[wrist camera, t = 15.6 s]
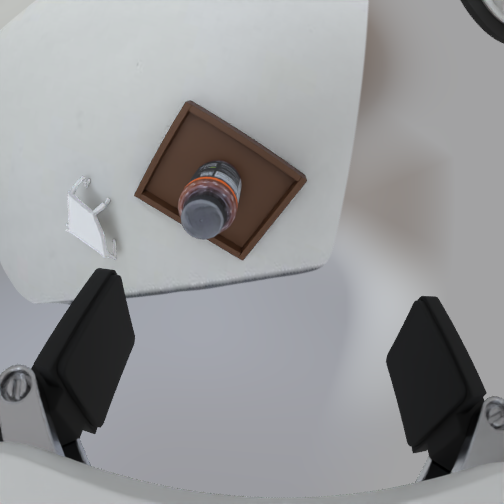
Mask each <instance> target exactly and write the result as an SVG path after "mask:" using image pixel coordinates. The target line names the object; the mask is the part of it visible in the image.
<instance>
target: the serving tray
mask: <svg viewBox="0 0 504 504" xmlns="http://www.w3.org/2000/svg"><path fill="white" fill-rule="evenodd" d="M212 160H223V161H226V162H228V163H230V164H232V165H233V166H234V167H235V168H236V169H237V170H238V172H239V174H240V176H241V182H242V184H241V185H242V186H241V192H240V193H241V195H240V198H239V204H238V208H237V213H236V216H235V219H234V221H233V223H232V224H231V225H230V226H229V227H228V228H227V229H226V230H224V231H223V232H221V233H218V234H217V235H216V236H215V237H213V238H210V239H207V240H209V241H211V242H212V243H214V244H216V245H217V246H219V247H221V248H222V249H224V250H226V251H227V252H229V253H231V254H232V255H234V256H236V257H238V258H239V259H241V260H244V258H245V257H246V256H247V255H248V254H249V252H250V251H251V250H252V249H253V247H254V246H255V245H256V244H257V242H258V241H259V240H260V239H261V237H262V236H263V235H264V234H265V232H266V231H267V230H268V229H269V227H270V226H271V225H272V224H273V222H274V221H275V220H276V219H277V217H278V216H279V215H280V214H281V213H282V211H283V210H284V209H285V208H286V206H287V205H288V204H289V203H290V201H291V200H292V199H293V198H294V196H295V195H296V194H297V193H298V191H299V190H300V189H301V188H302V186H303V185H304V184H305V183H306V181H307V179H306V176H305V175H304V174H303V173H301V172H300V171H299V170H297V169H296V168H294V167H293V166H292V165H290V164H289V163H287V162H286V161H285V160H283V159H282V158H280V157H279V156H277V155H276V154H274V153H273V152H271V151H270V150H269V149H267V148H266V147H264V146H263V145H261V144H260V143H258V142H257V141H255V140H254V139H252V138H250V137H249V136H247V135H246V134H244V133H243V132H241V131H240V130H238V129H237V128H235V127H233V126H232V125H230V124H229V123H227V122H225V121H224V120H222V119H221V118H219V117H217V116H216V115H214V114H212V113H211V112H209V111H207V110H206V109H204V108H202V107H201V106H199V105H197V104H196V103H194V102H192V101H187V102H185V104H184V106H183V107H182V109H181V110H180V112H179V114H178V115H177V117H176V119H175V120H174V122H173V124H172V126H171V127H170V129H169V131H168V132H167V134H166V136H165V138H164V139H163V141H162V143H161V145H160V147H159V148H158V150H157V152H156V154H155V156H154V158H153V159H152V161H151V163H150V165H149V167H148V169H147V171H146V173H145V175H144V177H143V179H142V181H141V183H140V185H139V187H138V189H137V191H136V193H135V195H134V196H136V197H137V198H140V199H141V200H142V201H144V202H146V203H147V204H149V205H151V206H152V207H154V208H156V209H157V210H159V211H161V212H162V213H164V214H166V215H167V216H169V217H171V218H172V219H174V220H175V221H177V222H179V223H180V224H182V223H181V217H180V215H179V210H178V202H179V198H180V195H181V193H182V191H183V190H184V188H185V187H186V185H187V184H188V182H189V181H190V179H191V178H192V177H193V175H194V174H195V172H196V171H197V170H198V168H199V167H200V166H202V165H203V164H204V163H206V162H208V161H212Z"/></svg>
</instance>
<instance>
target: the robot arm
mask: <svg viewBox="0 0 504 504" xmlns="http://www.w3.org/2000/svg"><path fill="white" fill-rule="evenodd" d="M482 2H483V3H484V5H485V6H486V7H487V9H488V10H489V11H490V12H491V13H492V14H493V16H494V17H495V18H497V19H498V20H499V21H500V22H501V23H503V24H504V0H482ZM134 341H135V335H134V331H133V327H132V323H131V319H130V315H129V310H128V306H127V302H126V297H125V293H124V288H123V283H122V279H121V277H120V276H119V275H117V273H116V271H115V270H110V269H102V268H98V269H96V270H95V272H94V273H93V274H92V276H91V277H90V278H89V280H88V281H87V283H86V284H85V285H84V287H83V288H82V290H81V291H80V292H79V294H78V295H77V297H76V298H75V300H74V301H73V302H72V304H71V305H70V307H69V308H68V310H67V311H66V313H65V314H64V316H63V317H62V319H61V320H60V322H59V323H58V325H57V326H56V328H55V330H54V331H53V333H52V334H51V336H50V338H49V339H48V341H47V342H46V344H45V346H44V347H43V349H42V351H41V352H40V354H39V356H38V357H37V359H36V361H35V362H34V365H33V367H32V368H31V369H30V368H29V367H27V366H24V365H15V366H11V367H9V368H7V369H6V370H5V371H4V372H2V373H1V375H0V504H504V399H502V398H500V397H495V396H492V397H489V398H487V399H486V400H485V401H484V399H483V396H484V395H485V394H486V391H485V389H484V386H483V384H482V382H481V379H480V377H479V375H478V373H477V371H476V369H475V366H474V364H473V362H472V360H471V358H470V356H469V354H468V352H467V350H466V348H465V346H464V344H463V342H462V340H461V338H460V336H459V335H458V333H457V331H456V329H455V327H454V325H453V323H452V321H451V320H450V318H449V316H448V314H447V313H446V311H445V309H444V307H443V306H442V304H441V302H440V300H439V299H438V298H437V297H431V296H421V297H420V298H419V299H418V300H417V301H415V302H414V303H413V306H412V308H411V310H410V312H409V314H408V316H407V318H406V320H405V322H404V324H403V326H402V328H401V330H400V332H399V334H398V336H397V338H396V340H395V342H394V344H393V346H392V347H391V349H390V351H389V353H388V355H387V359H386V363H387V367H388V370H389V373H390V377H391V381H392V384H393V388H394V391H395V395H396V399H397V403H398V406H399V410H400V414H401V418H402V422H403V426H404V430H405V435H406V439H407V443H408V445H409V446H412V451H413V453H417V452H422V451H426V450H428V453H429V457H428V459H427V461H426V463H425V465H424V467H423V469H422V471H421V473H420V474H419V476H418V478H417V480H416V482H415V483H412V484H408V485H403V486H399V487H393V488H388V489H383V490H377V491H370V492H363V493H356V494H346V495H336V496H324V497H305V498H263V497H244V496H231V495H221V494H212V493H204V492H197V491H191V490H184V489H179V488H173V487H168V486H163V485H158V484H154V483H149V482H145V481H141V480H137V479H133V478H130V477H126V476H122V475H119V474H115V473H111V472H108V471H105V470H102V469H99V468H95V467H92V466H91V465H90V462H89V460H88V458H87V455H86V453H85V451H84V448H83V446H82V443H81V441H80V436H81V433H82V430H84V431H87V432H90V433H93V434H95V433H96V430H97V427H101V426H102V425H103V423H104V421H105V418H106V415H107V412H108V409H109V407H110V404H111V401H112V399H113V396H114V393H115V391H116V388H117V386H118V383H119V380H120V377H121V375H122V373H123V370H124V368H125V365H126V363H127V360H128V357H129V355H130V353H131V350H132V348H133V345H134Z"/></svg>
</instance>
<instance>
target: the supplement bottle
mask: <svg viewBox="0 0 504 504" xmlns="http://www.w3.org/2000/svg"><path fill="white" fill-rule="evenodd" d="M241 184H242V182H241V176H240V174H239V172H238V170H237V169H236V168H235V167H234V166H233V165H232V164H230V163H228V162H226V161H223V160H212V161H208V162H206V163H204V164H203V165H202V166H200V167H199V168H198V170H197V171H196V172H195V174H194V175H193V177H192V178H191V179H190V181H189V182H188V184H187V185H186V187H185V188H184V190H183V191H182V193H181V195H180V198H179V202H178V210H179V215H180V217H181V223H182V226H183V228H184V229H185V231H186V232H187V233H188V234H189V235H191V236H193V237H195V238H197V239H210V238H213V237H215V236H216V235H217V234H218V233H221V232H223V231H224V230H226V229H227V228H228V227H229V226H230V225H231V224H232V223H233V221H234V219H235V216H236V213H237V208H238V204H239V198H240V195H241V193H240V192H241V186H242V185H241Z"/></svg>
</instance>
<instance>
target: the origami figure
mask: <svg viewBox="0 0 504 504" xmlns="http://www.w3.org/2000/svg"><path fill="white" fill-rule="evenodd" d="M81 181H83V183H84V185H85V187H86V188H87V187H88V185H89V183H90V181H91V180H90V179H88V181H87V183H86V180H85V177H84V176H82V177H81V178H80V179H79V180H78V181H77V182H76V183H75V185H74V186H73V187H72V189H71V190H70V191H68V195H67V196H68V213H69V216H68V223H66V226H67V227H68V229H67V230H66V231H68V232H70V233H72V234H73V235H74V236H76V237H77V238H78V239H80V240H81V241H83V242H84V243H86V244H87V245H88V246H90V247H91V248H93V249H94V250H96V251H97V252H98V253H100V254H101V255H102V256H103V258H106V257H109V258H112V259H114V260H116V259H117V255H116V240H114V239H113V241H112V242H113V255H112V254H111V253H109V252H108V250H107V245H106V240H105V235H104V233H103V230H102V228H101V225H100V223H99V221H98V219H97V216H96V215H97V214H98V213H99V212H100V211H102V210H103V209H104V208H105V207H106V206H107V205H108V203H109V202H110V199H109V198H107V199H106V201H105V202H102V203H101V204H100V205H99V206H98V207H97V208H96V209H94V210H91V209H90V208H89V207H88V206H87V205H86V204H84V203H83V202H82V201H81V200H80V199H79V198H77V197H76V196H75V195H74V194H75V192H76V189H77V187H78V186H79V184H80V183H81Z"/></svg>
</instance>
